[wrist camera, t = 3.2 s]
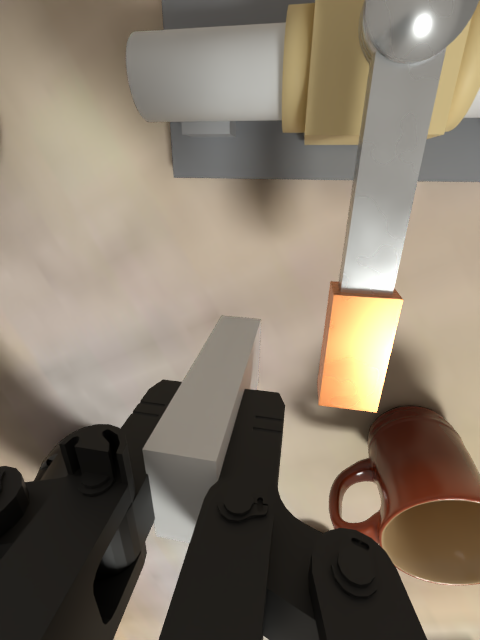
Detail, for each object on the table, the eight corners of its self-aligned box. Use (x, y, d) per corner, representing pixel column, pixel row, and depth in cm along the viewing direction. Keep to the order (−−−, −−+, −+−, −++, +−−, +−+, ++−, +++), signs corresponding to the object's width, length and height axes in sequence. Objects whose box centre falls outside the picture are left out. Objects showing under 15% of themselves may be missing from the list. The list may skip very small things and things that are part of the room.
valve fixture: (180, 177, 25) (98, 180, 15) (170, 3, 20) (45, -156, 11) (539, 182, 21) (752, 192, 11) (616, -31, 17) (1072, -325, 7)
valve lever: (365, -39, 10) (377, -79, 9) (470, -48, 10) (503, -92, 8) (313, 382, 17) (314, 404, 15) (373, 389, 16) (381, 413, 15)
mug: (454, 385, 28) (529, 492, 18) (464, 461, 30) (533, 586, 21) (313, 407, 31) (317, 506, 22) (334, 473, 34) (345, 585, 25)
